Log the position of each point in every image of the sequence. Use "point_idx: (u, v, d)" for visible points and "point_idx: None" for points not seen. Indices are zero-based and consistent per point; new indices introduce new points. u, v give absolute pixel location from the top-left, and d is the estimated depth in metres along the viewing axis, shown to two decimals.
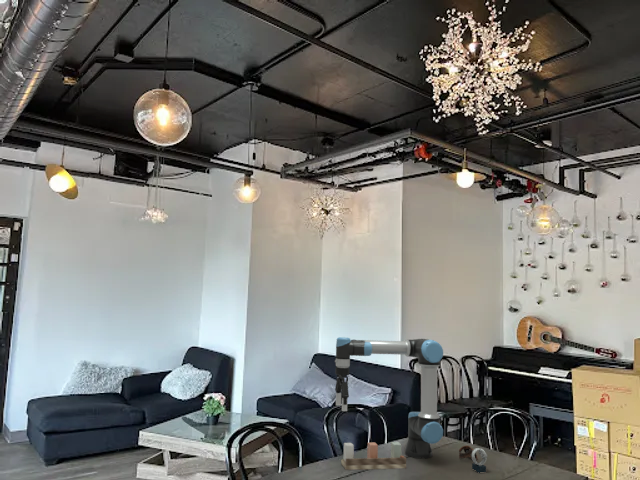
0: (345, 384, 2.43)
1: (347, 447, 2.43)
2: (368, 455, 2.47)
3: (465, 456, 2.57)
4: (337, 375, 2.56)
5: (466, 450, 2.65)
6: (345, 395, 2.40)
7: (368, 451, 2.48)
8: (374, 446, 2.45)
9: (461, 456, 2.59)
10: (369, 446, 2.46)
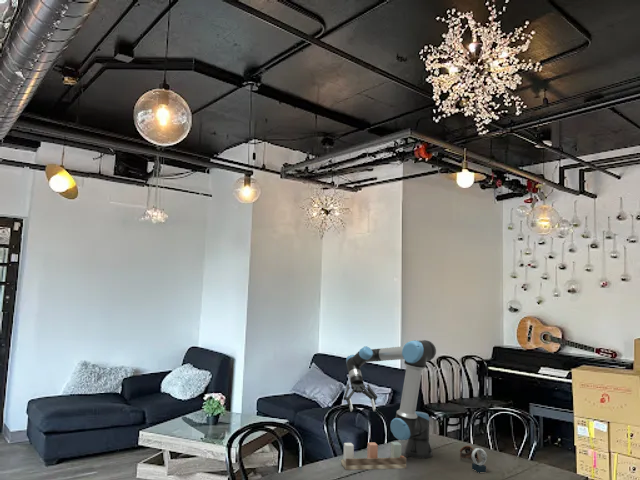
0: None
1: (347, 447, 2.43)
2: (368, 455, 2.47)
3: (466, 456, 2.57)
4: None
5: (467, 450, 2.64)
6: None
7: (368, 451, 2.48)
8: (374, 446, 2.45)
9: (462, 456, 2.59)
10: (369, 446, 2.46)
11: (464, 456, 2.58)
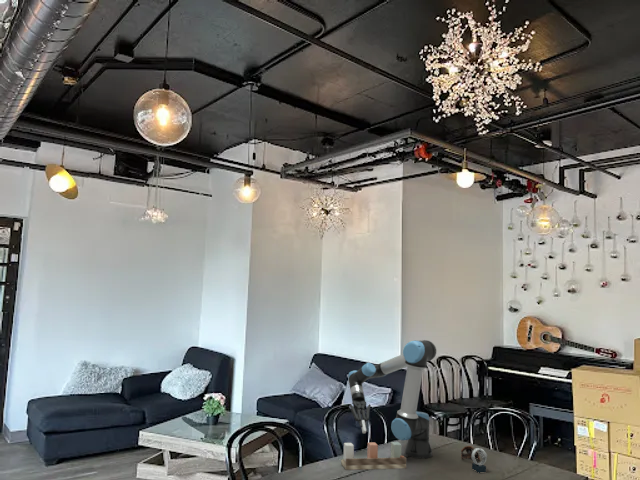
0: (352, 410, 2.71)
1: (347, 447, 2.43)
2: (368, 455, 2.47)
3: (467, 456, 2.57)
4: None
5: (468, 450, 2.64)
6: (355, 419, 2.67)
7: (368, 451, 2.48)
8: (374, 446, 2.45)
9: (463, 456, 2.58)
10: (369, 446, 2.46)
11: (465, 456, 2.57)
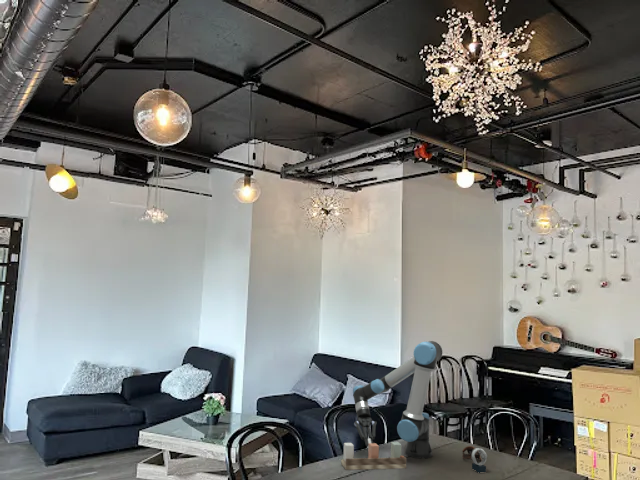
0: (357, 428, 2.59)
1: (347, 447, 2.43)
2: (369, 456, 2.45)
3: (469, 457, 2.56)
4: None
5: (469, 451, 2.64)
6: (361, 437, 2.55)
7: (369, 452, 2.46)
8: (375, 447, 2.44)
9: (465, 457, 2.58)
10: (370, 447, 2.45)
11: (467, 456, 2.57)
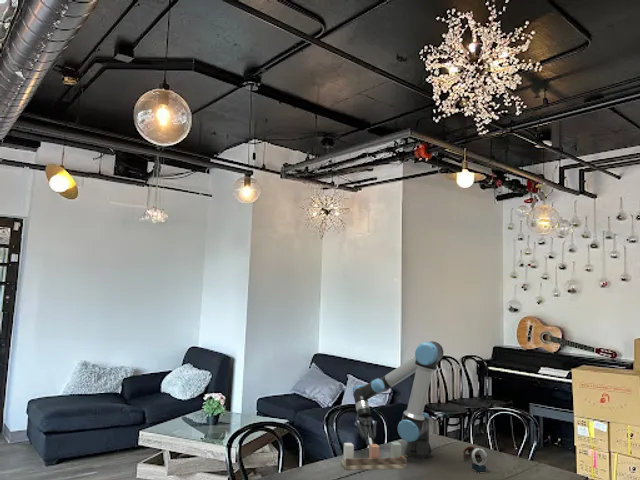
0: (357, 427, 2.58)
1: (347, 447, 2.43)
2: (370, 457, 2.44)
3: (470, 457, 2.56)
4: None
5: (470, 451, 2.64)
6: (362, 436, 2.55)
7: (370, 453, 2.45)
8: (376, 448, 2.42)
9: (466, 457, 2.58)
10: (371, 448, 2.43)
11: (468, 457, 2.57)
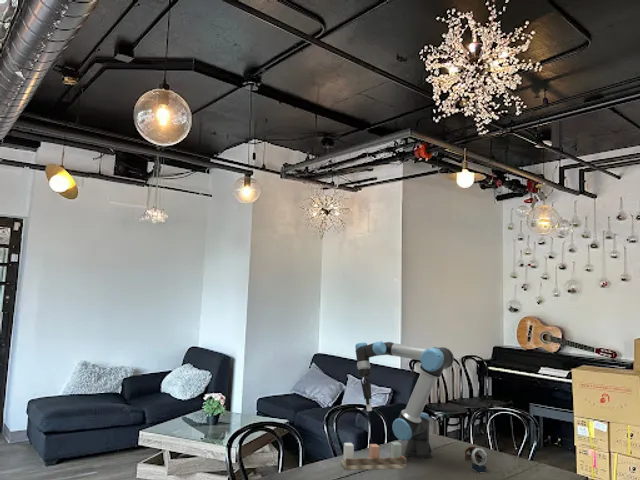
0: (363, 385, 2.72)
1: (347, 447, 2.43)
2: (370, 457, 2.44)
3: (471, 457, 2.56)
4: None
5: (471, 451, 2.63)
6: (365, 395, 2.71)
7: (370, 453, 2.45)
8: (376, 448, 2.42)
9: (467, 457, 2.57)
10: (371, 448, 2.43)
11: (469, 457, 2.56)
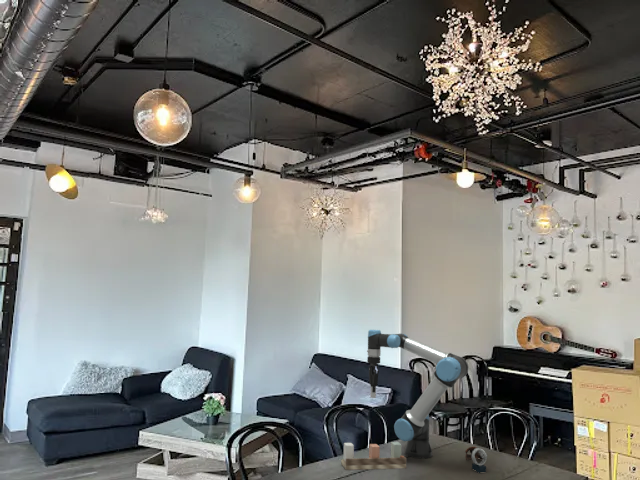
0: (376, 375, 2.71)
1: (347, 447, 2.43)
2: (370, 457, 2.44)
3: None
4: None
5: (472, 451, 2.63)
6: (374, 384, 2.72)
7: (370, 453, 2.45)
8: (376, 448, 2.42)
9: (468, 457, 2.57)
10: (371, 448, 2.43)
11: (470, 457, 2.56)
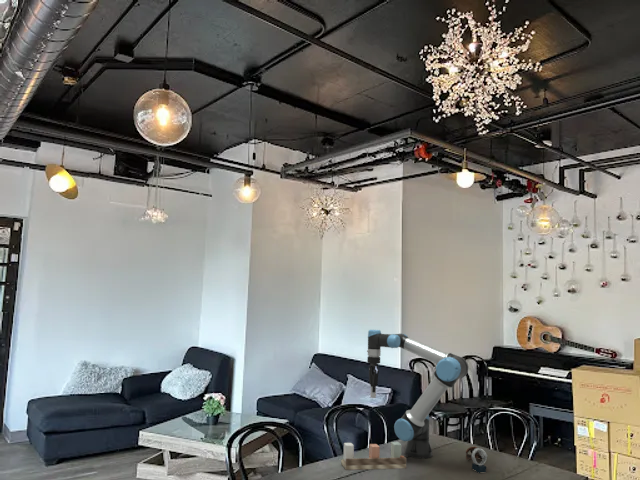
0: (376, 375, 2.71)
1: (347, 447, 2.43)
2: (370, 457, 2.44)
3: None
4: None
5: None
6: (374, 384, 2.72)
7: (370, 453, 2.45)
8: (376, 448, 2.42)
9: (468, 457, 2.57)
10: (371, 448, 2.43)
11: (470, 457, 2.56)
